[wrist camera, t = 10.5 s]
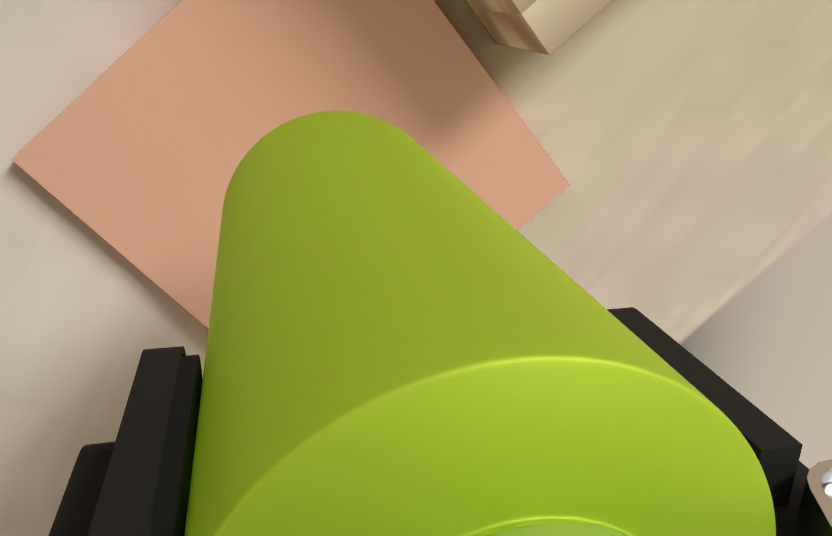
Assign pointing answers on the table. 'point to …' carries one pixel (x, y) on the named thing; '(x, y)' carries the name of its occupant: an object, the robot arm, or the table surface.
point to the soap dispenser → (432, 368)
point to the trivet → (270, 120)
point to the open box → (534, 21)
